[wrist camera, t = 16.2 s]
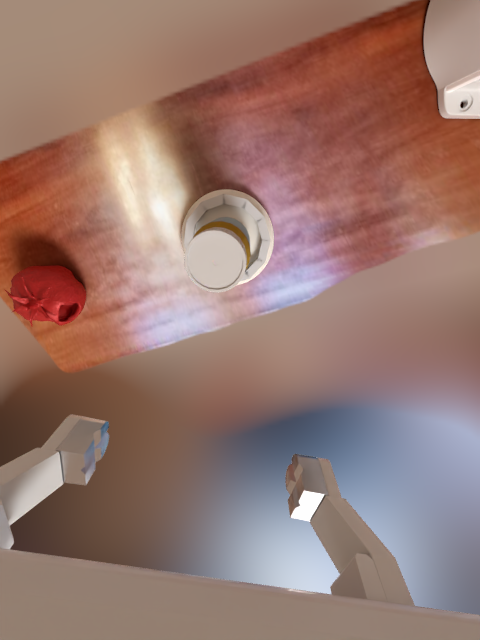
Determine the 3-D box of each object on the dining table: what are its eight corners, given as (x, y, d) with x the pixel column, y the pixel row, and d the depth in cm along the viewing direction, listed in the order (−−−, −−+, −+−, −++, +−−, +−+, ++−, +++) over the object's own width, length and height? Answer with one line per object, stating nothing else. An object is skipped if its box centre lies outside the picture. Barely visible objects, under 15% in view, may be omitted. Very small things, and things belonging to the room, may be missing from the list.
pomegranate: (23, 271, 43) (-35, 287, 34) (72, 252, 41) (25, 264, 32) (57, 322, 46) (13, 348, 38) (104, 307, 45) (69, 330, 36)
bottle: (200, 219, 37) (172, 228, 24) (247, 214, 37) (248, 221, 23) (207, 266, 40) (186, 299, 26) (251, 262, 40) (253, 293, 26)
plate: (284, 202, 37) (286, 202, 35) (260, 291, 43) (261, 296, 41) (188, 179, 36) (185, 177, 34) (178, 274, 42) (174, 277, 40)
